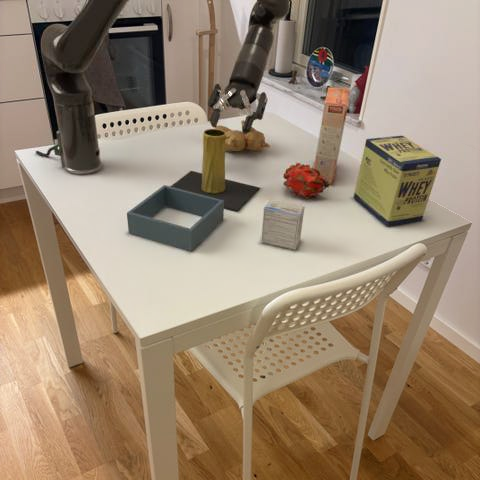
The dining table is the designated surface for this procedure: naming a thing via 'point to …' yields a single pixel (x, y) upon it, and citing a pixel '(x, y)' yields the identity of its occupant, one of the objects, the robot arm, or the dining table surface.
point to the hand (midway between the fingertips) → (228, 129)
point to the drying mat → (232, 196)
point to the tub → (171, 233)
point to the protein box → (395, 179)
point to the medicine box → (282, 224)
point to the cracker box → (331, 132)
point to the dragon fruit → (304, 180)
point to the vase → (213, 161)
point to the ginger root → (243, 139)
